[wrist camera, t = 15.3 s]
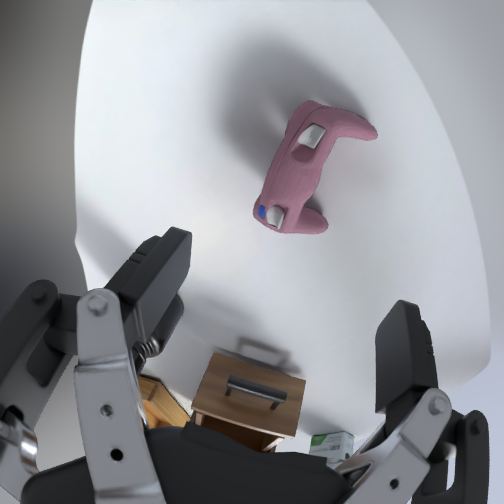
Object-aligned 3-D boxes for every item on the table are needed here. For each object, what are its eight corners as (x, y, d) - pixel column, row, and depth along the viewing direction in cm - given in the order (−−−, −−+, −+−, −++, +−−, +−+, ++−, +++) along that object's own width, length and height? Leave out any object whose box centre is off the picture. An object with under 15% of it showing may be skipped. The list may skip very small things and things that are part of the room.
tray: (204, 431, 69) (198, 448, 65) (159, 418, 73) (152, 433, 69) (162, 379, 52) (150, 401, 47) (108, 362, 56) (97, 381, 52)
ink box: (322, 441, 55) (313, 486, 45) (311, 435, 53) (300, 483, 44) (355, 437, 50) (349, 485, 40) (345, 431, 48) (337, 482, 39)
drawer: (217, 332, 35) (191, 392, 28) (318, 364, 34) (308, 427, 27) (206, 390, 47) (190, 432, 40) (278, 412, 46) (267, 455, 39)
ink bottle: (112, 272, 35) (59, 338, 26) (156, 260, 31) (97, 341, 22) (151, 323, 40) (112, 389, 30) (198, 320, 36) (159, 399, 27)
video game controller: (332, 99, 19) (280, 87, 14) (385, 128, 17) (351, 122, 12) (286, 202, 25) (231, 223, 20) (327, 233, 23) (280, 264, 19)
